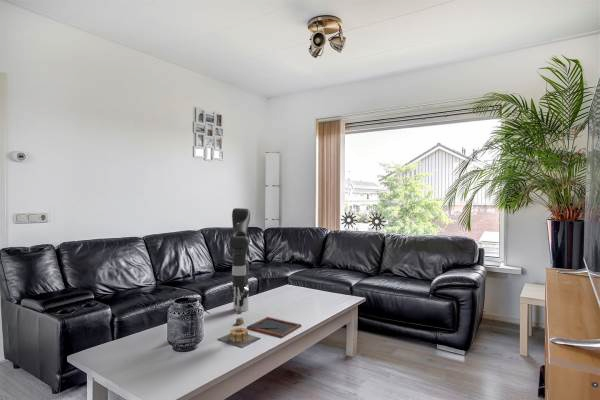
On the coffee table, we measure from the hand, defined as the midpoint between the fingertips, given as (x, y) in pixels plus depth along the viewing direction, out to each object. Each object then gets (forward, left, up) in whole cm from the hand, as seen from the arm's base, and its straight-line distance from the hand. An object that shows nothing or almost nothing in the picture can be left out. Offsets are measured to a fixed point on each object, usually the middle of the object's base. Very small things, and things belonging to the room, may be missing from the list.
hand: (239, 305), depth 186 cm
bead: (-16, +17, -18) cm, 30 cm away
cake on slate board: (0, 0, -18) cm, 18 cm away
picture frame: (+5, +24, -19) cm, 31 cm away
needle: (0, 0, -4) cm, 4 cm away
